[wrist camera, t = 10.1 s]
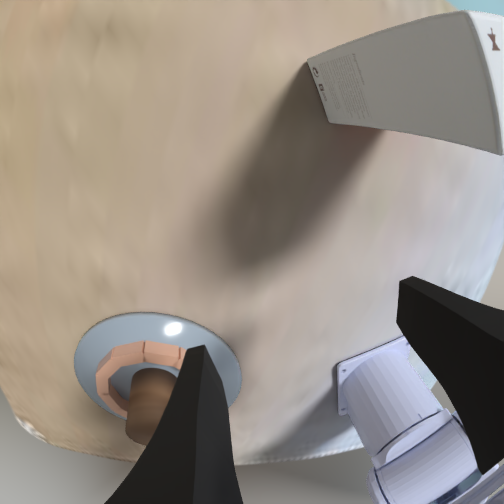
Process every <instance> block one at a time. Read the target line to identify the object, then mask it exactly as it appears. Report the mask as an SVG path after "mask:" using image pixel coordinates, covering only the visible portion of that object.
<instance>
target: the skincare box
mask: <svg viewBox="0 0 504 504" xmlns="http://www.w3.org/2000/svg"><path fill="white" fill-rule="evenodd" d="M307 62H308V65H309V68H310V70H311V73H312V75H313V78H314V81H315V83H316V86H317V89H318V92H319V94H320V97H321V100H322V103H323V106H324V109H325V112H326V115H327V118H328V121H329V122H330V123H335V124H346V125H356V126H363V127H370V128H378V129H384V130H391V131H398V132H404V133H409V134H414V135H420V136H425V137H430V138H435V139H440V140H444V141H448V142H452V143H457V144H461V145H465V146H469V147H472V148H476V149H480V150H483V151H487V152H490V153H494V154H497V155H504V16H500V15H496V14H490V13H484V12H477V11H470V10H461V11H455V12H449V13H443V14H438V15H434V16H429V17H425V18H421V19H418V20H414V21H411V22H408V23H404V24H400V25H397V26H394V27H391V28H387V29H384V30H381V31H378V32H375V33H372V34H369V35H366V36H364V37H361V38H358V39H355V40H353V41H350V42H347V43H345V44H342V45H339V46H337V47H334V48H332V49H329V50H327V51H324V52H322V53H320V54H318V55H315V56H313V57H311V58H309V59H307Z"/></svg>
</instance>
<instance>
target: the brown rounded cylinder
mask: <svg viewBox="0 0 504 504" xmlns="http://www.w3.org/2000/svg"><path fill="white" fill-rule="evenodd" d="M176 380H177V377H176V376H175V375H174V374H172V373H171V372H169V371H166V370H164V369H160V368H144V369H141V370H139V371H137V372H136V373H135V374H134V375H133V377H132V381H131V388H130V396H129V403H128V412H127V420H126V430H125V431H126V434H127V435H128V437H129V438H131V439H132V440H133V441H135V442H137V443H140V444H142V445H146V446H147V445H148V443H149V441H150V439H151V437H152V435H153V434H154V432H155V430H156V428H157V426H158V424H159V421H160V419H161V417H162V415H163V412H164V410H165V408H166V406H167V403H168V401H169V398H170V396H171V393H172V390H173V388H174V385H175V383H176Z"/></svg>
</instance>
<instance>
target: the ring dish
mask: <svg viewBox="0 0 504 504" xmlns="http://www.w3.org/2000/svg"><path fill="white" fill-rule="evenodd" d="M204 344H205V346H206V348H207V350H208V352H209V354H210V357H211V359H212V361H213V363H214V365H215V367H216V369H217V371H218V373H219V375H220V377H221V379H222V381H223V386H224V391H225V395H226V400H227V405H228V408H229V407H230V406H231V405H232V403H233V402H234V401H235V400H236V398H237V396H238V394H239V392H240V389H241V383H242V377H241V370H240V366H239V362H238V360H237V358H236V356H235V354H234V352H233V351H232V349H231V348H230V347H229V346H228V345H227V344H226V343H225V342H224V341H223V339H221V338H220V337H219V336H217V335H216V334H215V333H214V332H212V331H210V330H209V329H207V328H205V327H204V326H201V325H199V324H197V323H195V322H193V321H190V320H187V319H184V318H181V317H177V316H173V315H169V314H162V313H155V312H133V313H125V314H119V315H115V316H112V317H109V318H106V319H104V320H102V321H100V322H98V323H96V324H95V325H94V326H92V327H91V328H90V329H89V330H88V331H87V332H86V333H85V334H84V335H83V337H82V338H81V340H80V342H79V344H78V347H77V349H76V352H75V357H74V368H75V372H76V376H77V378H78V381H79V383H80V384H81V386H82V388H83V389H84V391H85V392H86V393H87V394H88V396H89V397H90V398H91V399H92V400H93V401H94V402H96V403H97V404H98V405H99V406H100V407H102V408H103V409H105V410H106V411H108V412H110V413H111V414H113V415H115V416H117V417H119V418H122V419H124V420H127V412H128V403H129V396H130V388H131V381H132V377H133V375H134V374H135V373H136V372H137V371H139V370H141V369H144V368H160V369H164V370H166V371H169V372H171V373H172V374H174V375H175V376H176V377H178V374H179V371H180V368H181V365H182V362H183V359H184V356H185V352H186V350H187V349H188V348H192V347H196V346H200V345H204Z"/></svg>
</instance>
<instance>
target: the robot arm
mask: <svg viewBox="0 0 504 504" xmlns="http://www.w3.org/2000/svg"><path fill="white" fill-rule="evenodd" d="M396 323H397V325H398V326H399V328H400V330H401V331H402V333H403V335H404V336H403V337H401V338H398V339H396V340H394V341H392V342H390V343H387V344H385V345H383V346H380V347H378V348H376V349H373V350H371V351H368V352H366V353H364V354H361V355H359V356H356V357H353V358H351V359H348V360H346V361H343V362H341V363H339V364H338V366H337V381H338V414H339V415H340V416H343V415H346V414H349V416H350V419H351V421H352V423H353V425H354V427H355V429H356V431H357V433H358V435H359V437H360V439H361V441H362V443H363V445H364V447H365V449H366V451H367V453H368V454H369V455H370V456H371V457H373V458H371V461H372V463H373V465H374V467H373V468H371V469H370V470H369V472H368V476H367V480H366V483H367V488H368V491H369V494H370V497H371V499H372V501H373V503H374V504H504V488H503V489H502V490H500V491H499V492H498V493H496V494H495V495H494V496H492V497H491V498H490V499H489V500H487V498H488V496H489V495H491V494H492V493H493V492H494V491H495V490H496V489H498V488H499V487H500V486H501V485H502V484H503V483H504V464H503V465H502V466H501V467H499V465H498V463H499V462H500V461H501V460H502V459H503V458H504V310H500V309H496V308H493V307H490V306H487V305H484V304H481V303H479V302H476V301H473V300H471V299H468V298H466V297H463V296H461V295H458V294H456V293H453V292H451V291H449V290H446V289H444V288H442V287H439V286H437V285H434V284H432V283H430V282H427V281H425V280H422V279H419V278H417V277H414V276H411V277H409V278H406V279H404V280H401V281H399V297H398V309H397V320H396ZM410 346H411V347H412V348H413V349H414V351H415V352H416V353H417V354H418V356H419V357H420V358H421V359H422V361H423V362H424V363H425V364H426V366H427V367H428V368H429V370H430V371H431V372H432V373H433V375H434V376H435V377H436V379H437V380H438V381H439V383H440V384H441V385H442V387H443V388H444V390H445V392H446V393H447V395H448V397H449V399H450V400H451V402H452V404H453V406H454V408H455V409H456V411H455V412H454V413H452V415H451V414H450V412H449V411H448V410H447V408H445V409H443V408H442V406H441V405H440V403H439V402H438V400H437V399H436V398H435V397H434V395H433V394H432V392H431V391H430V389H429V388H428V387H427V385H426V384H425V383H424V381H423V380H422V378H421V377H420V376H419V374H418V373H417V372H416V370H415V369H414V368H413V366H412V365H411V364H410V362H409V361H408V356H409V351H410ZM498 467H499V468H498ZM486 500H487V501H486ZM104 504H243V501H242V497H241V493H240V489H239V485H238V481H237V477H236V473H235V468H234V461H233V453H232V443H231V433H230V423H229V413H228V405H227V400H226V395H225V391H224V386H223V381H222V379H221V377H220V375H219V373H218V371H217V369H216V367H215V365H214V363H213V361H212V359H211V357H210V354H209V352H208V350H207V348H206V346H205V344H204V345H200V346H196V347H192V348H188V349H187V350H186V352H185V356H184V359H183V362H182V365H181V368H180V371H179V374H178V377H177V380H176V383H175V385H174V388H173V390H172V393H171V396H170V398H169V401H168V403H167V406H166V408H165V410H164V412H163V415H162V417H161V419H160V421H159V424H158V426H157V428H156V430H155V432H154V434H153V435H152V437H151V439H150V441H149V443H148V445H147V446H146V448H145V450H144V451H143V453H142V455H141V456H140V458H139V459H138V461H137V463H136V464H135V466H134V467H133V469H132V470H131V471H130V473H129V474H128V476H127V477H126V478H125V480H124V481H123V482H122V483H121V485H120V486H119V487H118V488H117V490H116V491H115V492H114V493H113V495H112V496H111V497H110V498H109V499H108V500H107V501H106V502H105V503H104Z"/></svg>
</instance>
